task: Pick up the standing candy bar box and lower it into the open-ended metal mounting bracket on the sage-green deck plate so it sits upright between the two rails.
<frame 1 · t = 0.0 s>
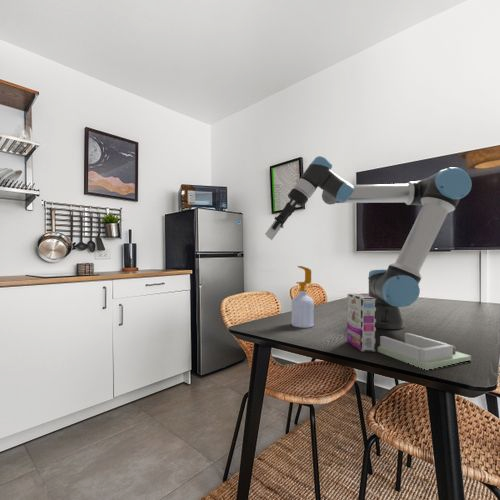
hand: (268, 237, 118), 36 cm above the table, tool tilted 35°, fingers open, 13 cm apart
candy bar box: (360, 347, 97), on the table
deck: (422, 356, 88), on the table
soap bottle: (302, 325, 125), on the table
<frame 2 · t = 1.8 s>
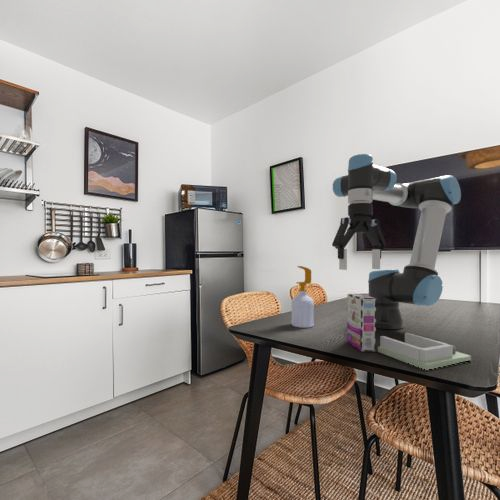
hand: (360, 269, 97), 25 cm above the table, tool pointing down, fingers open, 13 cm apart
nothing on the table moved.
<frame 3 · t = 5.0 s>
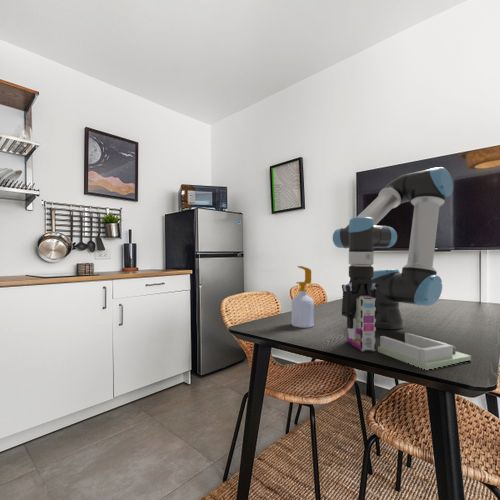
hand: (360, 337, 97), 3 cm above the table, tool pointing down, fingers closed on candy bar box, 6 cm apart
candy bar box: (360, 346, 97), on the table, touching gripper
everything else where it was.
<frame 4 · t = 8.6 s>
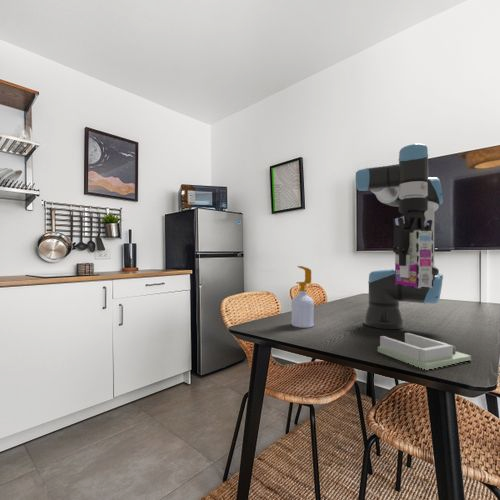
hand: (412, 276, 89), 23 cm above the table, tool pointing down, fingers closed on candy bar box, 6 cm apart
candy bar box: (413, 287, 89), point 20 cm above the table, touching gripper
everything else where it was.
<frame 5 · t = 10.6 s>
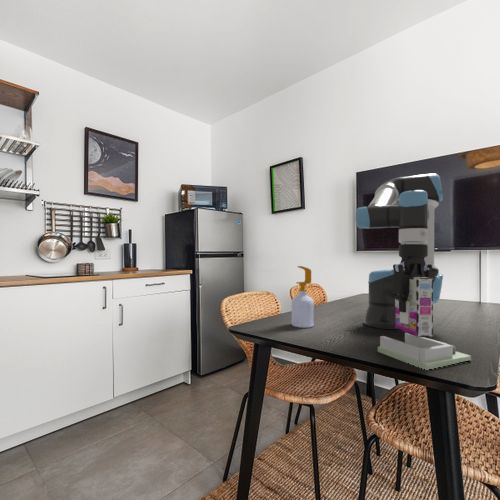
hand: (412, 322, 89), 10 cm above the table, tool pointing down, fingers closed on candy bar box, 6 cm apart
candy bar box: (413, 333, 89), point 7 cm above the table, touching gripper
everything else where it was.
when the fingers open (6 cm above the table, at t = 12.3 s): candy bar box drops 1 cm, resting on deck.
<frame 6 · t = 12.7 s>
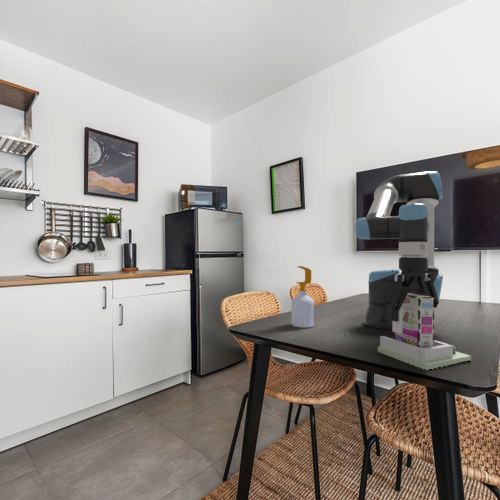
hand: (412, 330, 89), 7 cm above the table, tool pointing down, fingers open, 12 cm apart
candy bar box: (413, 350, 89), point 1 cm above the table, touching deck
everything else where it was.
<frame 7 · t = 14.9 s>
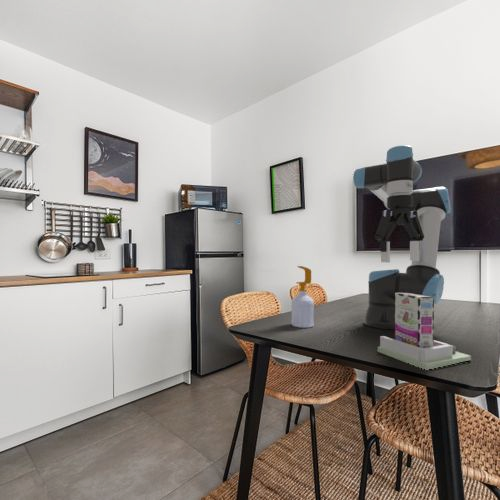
hand: (400, 261, 98), 27 cm above the table, tool pointing down, fingers open, 13 cm apart
nothing on the table moved.
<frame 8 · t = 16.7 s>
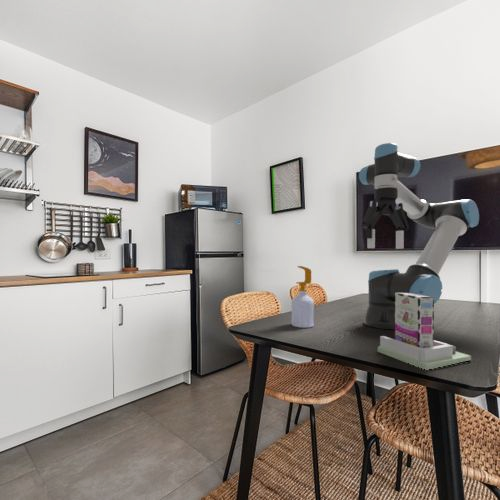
hand: (385, 248, 107), 32 cm above the table, tool pointing down, fingers open, 13 cm apart
nothing on the table moved.
at the end: candy bar box inside the target area on the deck (0.2 cm from its centre), point 1.3 cm above the deck's base; candy bar box tilted 0°; the gripper is holding nothing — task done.
